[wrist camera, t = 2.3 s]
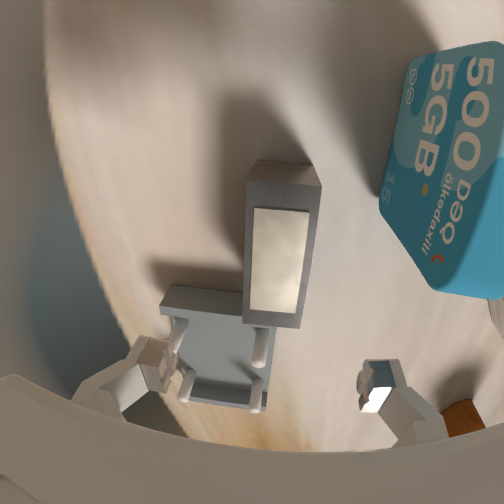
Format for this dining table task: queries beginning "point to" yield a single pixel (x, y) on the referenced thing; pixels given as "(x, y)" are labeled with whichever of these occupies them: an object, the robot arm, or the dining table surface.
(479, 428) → the disposable coffee cup
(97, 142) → the dining table surface
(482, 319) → the dining table surface
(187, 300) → the tray
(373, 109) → the dining table surface
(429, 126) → the data package
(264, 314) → the block
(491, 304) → the supplement box
